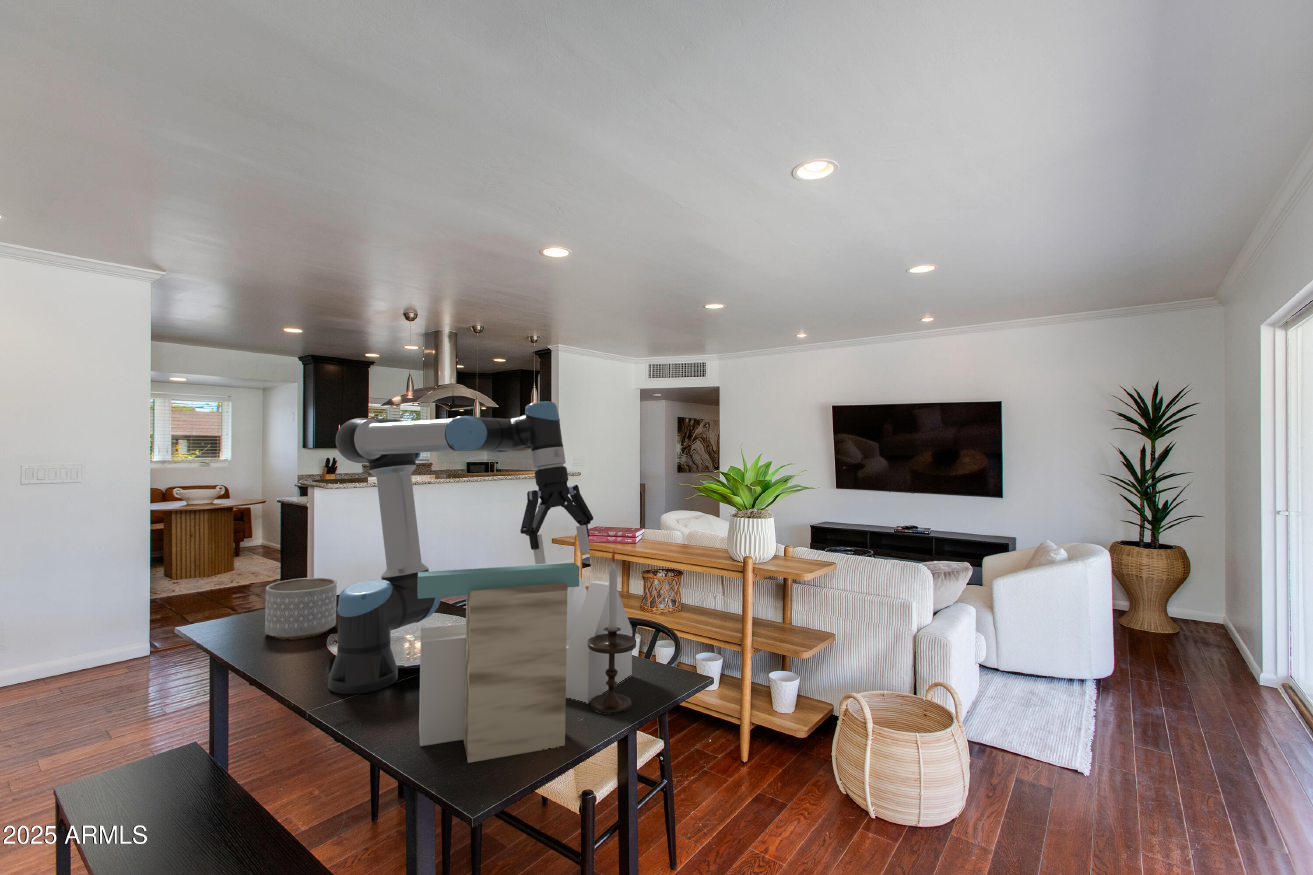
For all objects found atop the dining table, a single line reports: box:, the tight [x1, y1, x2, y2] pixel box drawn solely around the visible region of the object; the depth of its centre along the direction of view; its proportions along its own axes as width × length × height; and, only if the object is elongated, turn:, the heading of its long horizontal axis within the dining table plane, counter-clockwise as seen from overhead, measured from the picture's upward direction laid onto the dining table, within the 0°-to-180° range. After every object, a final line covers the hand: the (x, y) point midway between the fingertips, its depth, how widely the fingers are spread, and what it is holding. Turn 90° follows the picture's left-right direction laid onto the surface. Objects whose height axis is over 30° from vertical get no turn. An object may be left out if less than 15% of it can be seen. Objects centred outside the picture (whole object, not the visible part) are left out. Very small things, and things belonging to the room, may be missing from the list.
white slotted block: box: [566, 578, 633, 704], centre depth 151 cm, size 19×15×25 cm
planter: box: [264, 577, 338, 640], centre depth 187 cm, size 19×19×14 cm
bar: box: [418, 562, 581, 599], centre depth 119 cm, size 4×30×4 cm, turn 112°
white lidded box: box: [418, 623, 466, 747], centre depth 126 cm, size 9×18×20 cm, turn 112°
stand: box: [463, 583, 568, 764], centre depth 120 cm, size 9×18×31 cm, turn 112°
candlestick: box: [588, 549, 637, 715], centre depth 138 cm, size 11×11×35 cm
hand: (563, 558), depth 143 cm, fingers open, 13 cm apart
